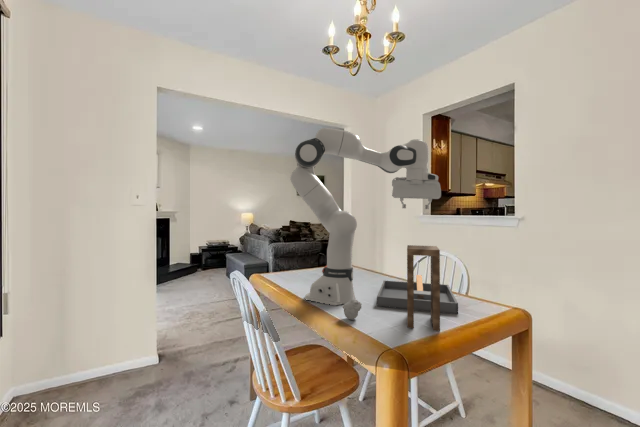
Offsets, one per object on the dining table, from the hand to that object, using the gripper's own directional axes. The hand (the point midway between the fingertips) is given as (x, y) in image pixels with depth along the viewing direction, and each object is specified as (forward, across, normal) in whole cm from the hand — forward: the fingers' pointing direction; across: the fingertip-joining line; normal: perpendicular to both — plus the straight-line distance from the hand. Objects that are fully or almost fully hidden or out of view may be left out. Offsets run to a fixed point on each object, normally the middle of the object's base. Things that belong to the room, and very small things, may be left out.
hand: (415, 208), depth 124 cm
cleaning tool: (+37, +4, +11) cm, 38 cm away
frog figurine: (+42, -20, -28) cm, 55 cm away
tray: (+40, +2, +4) cm, 40 cm away
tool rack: (+41, +4, -24) cm, 48 cm away
